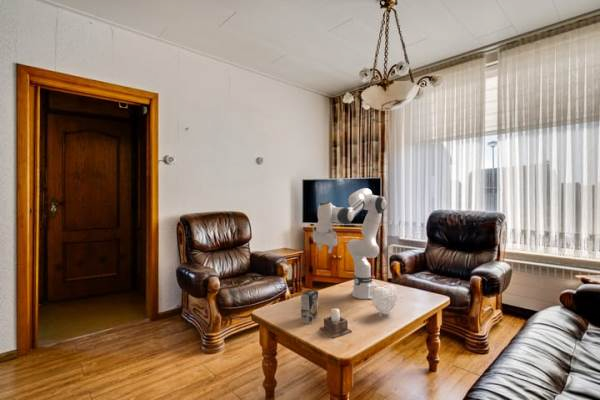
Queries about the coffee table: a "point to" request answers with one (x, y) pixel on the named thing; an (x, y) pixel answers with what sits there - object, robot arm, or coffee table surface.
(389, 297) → the decorative heart
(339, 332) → the walnut roll holder
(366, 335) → the coffee table surface
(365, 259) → the robot arm
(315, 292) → the coffee box
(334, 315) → the paper roll
